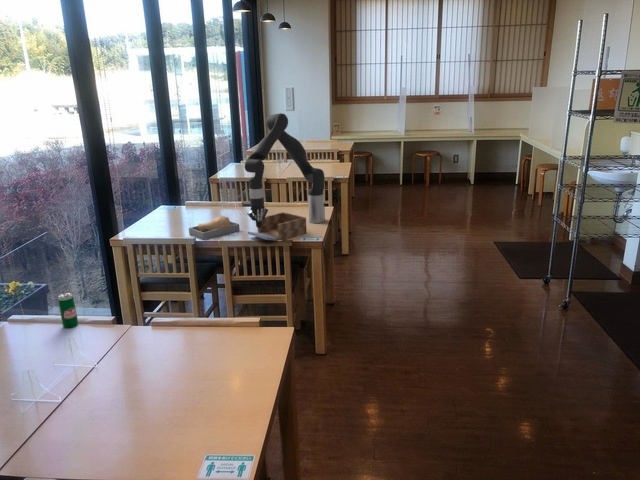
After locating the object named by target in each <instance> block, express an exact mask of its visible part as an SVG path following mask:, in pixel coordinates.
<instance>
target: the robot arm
mask: <svg viewBox="0 0 640 480" xmlns="http://www.w3.org/2000/svg"><path fill="white" fill-rule="evenodd" d="M265 123H266V124H265V125H266V127H267V129H268V130H269V132H268V133H267V134H266V135H265V136H264V137H263V138H262V139H261V140H260V142H259V143H258V144H257V147H256V148H255V150H254V151H253V152H252V153H251V154H250V155H249V156H248V157H247V158H246V160H245V162H244V164H243V165H244V170H245V172H247V173H251V174H252V173H253V174H254V176H252V177H250V178H249V179H248V186H249V190H248V191H249V192H248V195H249V203H250V204H249V205H250V211H249V212H247V216H248V217H250V220H252V221H254V222H255V227H256V228H257V229H258V228H261V226H262V219H264V218H265V217H266V216H267V214H268V211H269V209H268V208H266V207H265V196H264V189H263V178H264V172H265V163H264V162H263V161H265V160H266V159H267V157H268V156H269V153H270V152H271V149H272V148H273V146H274V145H275V143H276V142H277V141H278V142H279V143H280V144H281V146H282V147H283V148H284V149H285V151H286V152H287V154H288V155H289V156H290V158H291V160H293V162H294V164H296V166H297V167H298V168H299V170H300V172H301V173H302V175H303V177H304V179H305V180H306V182H308V183H311V184H312V185H311V186H312V187H311V188H309V189H308V191H307V195H308V196H307V199H308V202H307V203H308V204H307V205H308V223H311V224H320V223H324V221H326V218H325V217H326V209H325V207H326V206H325V205H324V191H325V182H326V181H325V172H324V170H323V169H321V168H318V167H313V166H312V165H311V163H310V162H309V161H308V159H307V151H306V149H305V148H304V146H303V144H302V143H301V142H300V140H298V139H297V138H295V137H294V136H292V135H290V134H289V133H288V132H286V129H287V128H288V125H289V119H288V116H287V115H286V114H285V113H281V112H279V113H275V114H271V115H268V116H267V117H266V119H265Z"/></svg>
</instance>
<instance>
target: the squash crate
mask: <svg viewBox="0 0 640 480" xmlns="http://www.w3.org/2000/svg"><path fill="white" fill-rule="evenodd" d="M229 221H230V220H229ZM230 223H231V225H230V226H229V227H228V229H225V228H219V229H215V230H211V231H209V230H206V231H198V229H197V227H198V225H196V226H192V227H189V228H188V233H189V235H190V236H192V237H194V236H195V237H194V238H196V239H197V238H198V239H200V240H202V241H204V240H208V239H212V238H216V237H220V236H223V235H224V236H225V235H228V234H231V233H236V232H240V230H241V229H240V223H238V222H237V223H236V222H233V221H230Z"/></svg>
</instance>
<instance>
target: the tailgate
mask: <svg viewBox="0 0 640 480" xmlns="http://www.w3.org/2000/svg"><path fill="white" fill-rule="evenodd" d="M247 235H250V236H254V237H257V238H260V239H263V240H267V241H277V240H278V238H275V237H271V236H268V235H265V234H262V233H258V232H254V231H248V232H247Z"/></svg>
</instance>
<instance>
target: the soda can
mask: <svg viewBox="0 0 640 480" xmlns="http://www.w3.org/2000/svg"><path fill="white" fill-rule="evenodd" d="M57 302H58V307H59V313H60V319H61V322H62V323H61V324H62V327H64V328H65V329H71V328H74V327H77V325H78V324H79V321H78V314H77V307H76V304H75V303H76V302H75V299H74V295H73V294H72V293H70V292H63V293H61V294H59V295H58V298H57Z"/></svg>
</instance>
